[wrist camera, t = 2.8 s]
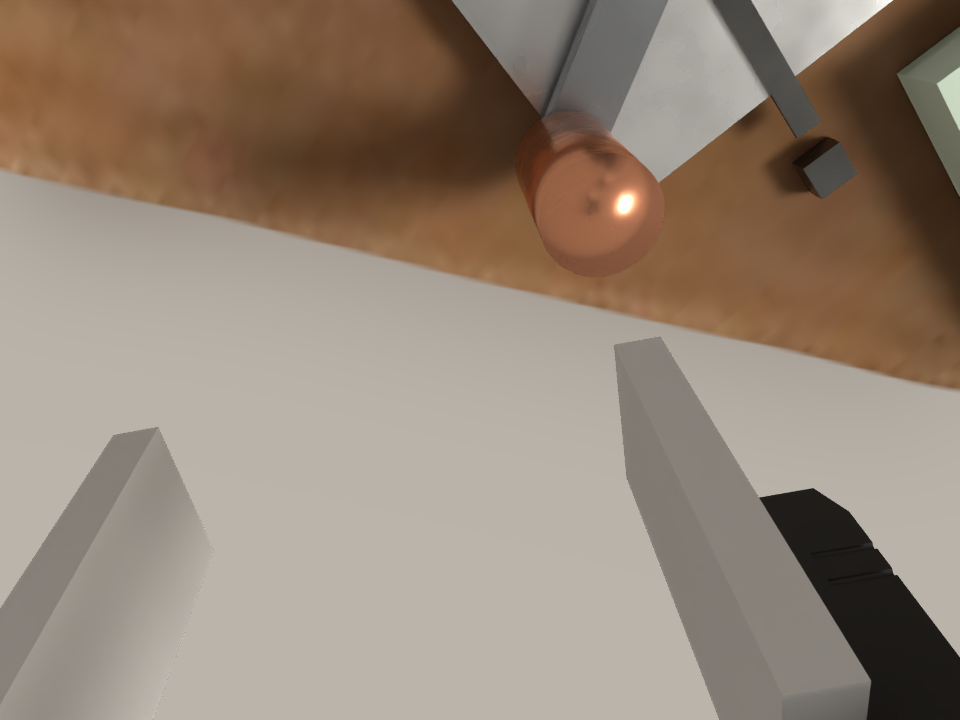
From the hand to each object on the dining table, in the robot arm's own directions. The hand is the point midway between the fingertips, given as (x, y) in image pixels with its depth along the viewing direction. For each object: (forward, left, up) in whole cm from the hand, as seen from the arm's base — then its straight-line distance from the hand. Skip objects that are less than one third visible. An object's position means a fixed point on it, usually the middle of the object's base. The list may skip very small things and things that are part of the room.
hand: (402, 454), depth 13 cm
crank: (0, +9, -17) cm, 20 cm away
